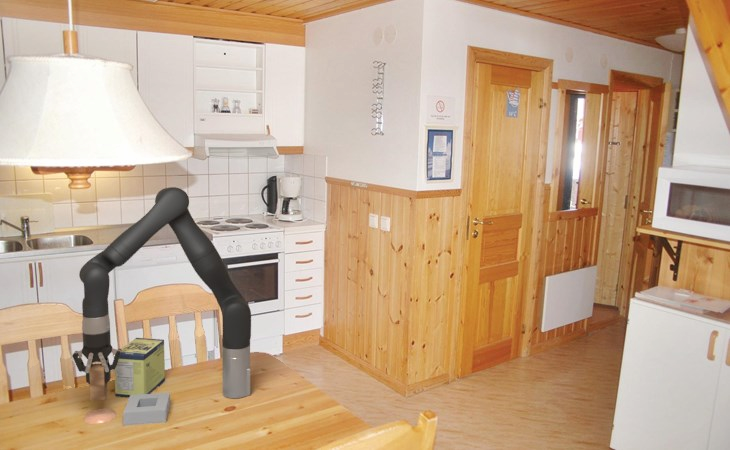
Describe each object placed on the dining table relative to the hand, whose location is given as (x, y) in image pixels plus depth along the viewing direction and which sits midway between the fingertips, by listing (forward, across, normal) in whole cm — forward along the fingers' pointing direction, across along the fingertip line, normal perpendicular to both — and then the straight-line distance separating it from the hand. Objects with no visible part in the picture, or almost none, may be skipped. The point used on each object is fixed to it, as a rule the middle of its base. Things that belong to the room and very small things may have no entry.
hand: (98, 382), depth 173 cm
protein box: (+12, -9, -19) cm, 24 cm away
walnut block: (+5, 0, 0) cm, 5 cm away
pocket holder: (+11, -14, +1) cm, 18 cm away
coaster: (+12, 0, 0) cm, 12 cm away
